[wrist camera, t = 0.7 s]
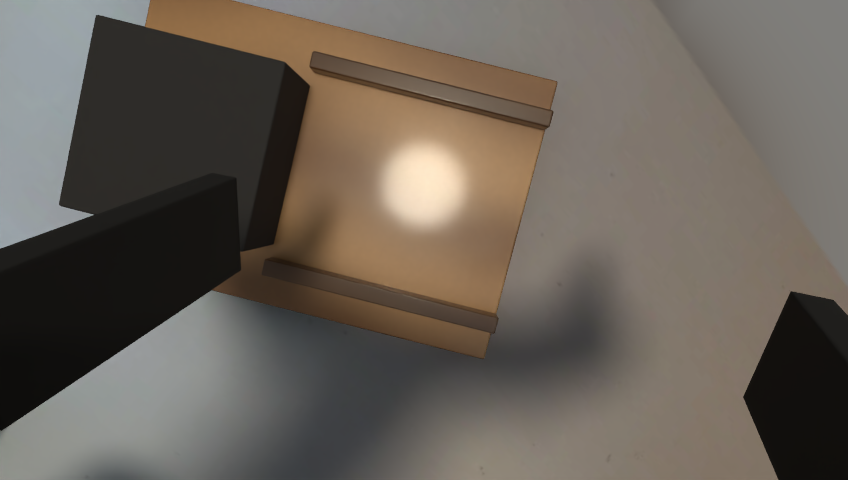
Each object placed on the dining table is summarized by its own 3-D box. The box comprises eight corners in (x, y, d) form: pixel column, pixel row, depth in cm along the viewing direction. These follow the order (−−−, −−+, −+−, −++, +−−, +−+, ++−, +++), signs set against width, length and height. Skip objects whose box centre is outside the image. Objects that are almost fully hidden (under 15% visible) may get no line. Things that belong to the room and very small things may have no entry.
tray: (481, 352, 26) (486, 366, 24) (112, 258, 26) (82, 263, 24) (552, 87, 25) (563, 75, 23) (167, -10, 25) (141, -30, 23)
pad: (274, 245, 25) (242, 252, 21) (118, 205, 25) (57, 205, 21) (310, 85, 24) (285, 61, 20) (151, 45, 24) (95, 13, 20)
